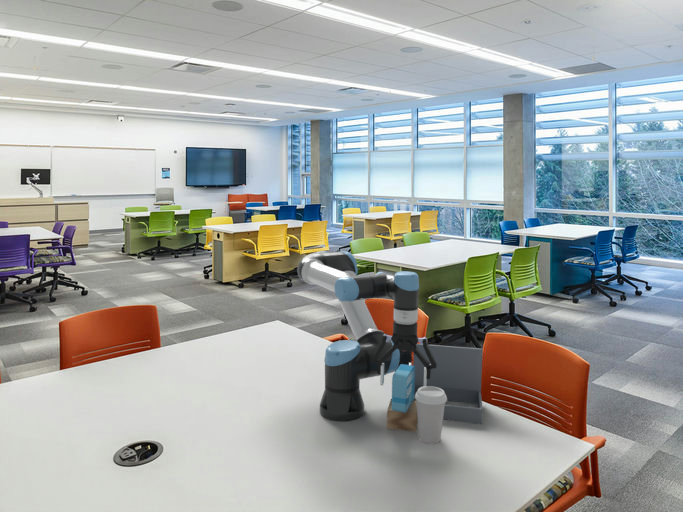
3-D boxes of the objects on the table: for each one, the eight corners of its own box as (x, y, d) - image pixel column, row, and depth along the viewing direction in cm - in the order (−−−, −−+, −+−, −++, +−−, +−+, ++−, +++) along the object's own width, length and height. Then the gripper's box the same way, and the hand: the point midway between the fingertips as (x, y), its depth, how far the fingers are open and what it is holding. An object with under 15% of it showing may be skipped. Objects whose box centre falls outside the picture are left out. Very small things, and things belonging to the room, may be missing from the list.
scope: (420, 353, 187) (393, 351, 190) (419, 389, 189) (392, 386, 192) (421, 347, 195) (396, 345, 198) (420, 381, 197) (395, 378, 200)
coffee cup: (447, 433, 156) (449, 387, 154) (443, 448, 147) (445, 399, 145) (416, 428, 159) (418, 383, 157) (410, 443, 150) (412, 395, 148)
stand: (387, 428, 159) (387, 410, 158) (390, 415, 168) (391, 398, 167) (415, 431, 157) (416, 413, 156) (418, 418, 166) (418, 401, 165)
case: (403, 415, 168) (404, 357, 165) (408, 396, 183) (409, 343, 180) (482, 424, 162) (484, 364, 159) (480, 403, 177) (482, 348, 175)
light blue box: (405, 414, 155) (406, 377, 153) (391, 412, 157) (392, 375, 155) (414, 399, 166) (415, 364, 164) (400, 397, 168) (401, 362, 166)
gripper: (363, 321, 157) (362, 386, 160) (445, 327, 151) (442, 394, 154) (368, 315, 164) (366, 377, 167) (446, 321, 158) (443, 385, 162)
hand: (403, 386), depth 161 cm, fingers open, 13 cm apart
